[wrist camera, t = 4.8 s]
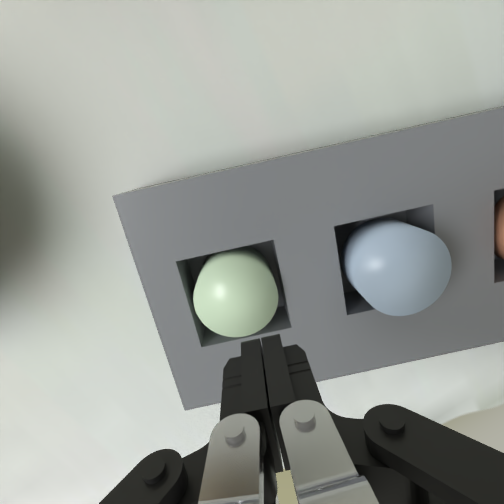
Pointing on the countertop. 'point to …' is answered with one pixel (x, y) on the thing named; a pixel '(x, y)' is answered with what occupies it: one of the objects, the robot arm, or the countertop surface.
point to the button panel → (327, 248)
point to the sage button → (235, 292)
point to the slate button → (396, 265)
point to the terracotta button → (499, 228)
